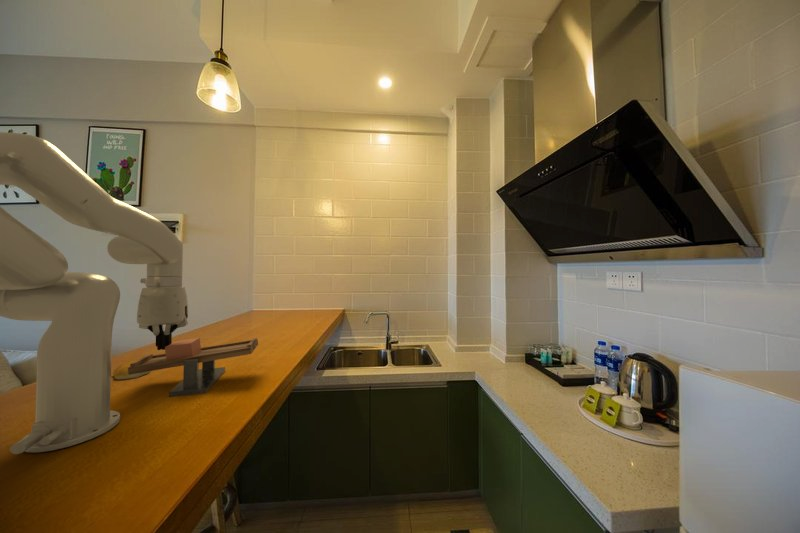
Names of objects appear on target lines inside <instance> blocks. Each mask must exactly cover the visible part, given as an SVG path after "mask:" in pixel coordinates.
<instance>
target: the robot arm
mask: <svg viewBox="0 0 800 533" xmlns="http://www.w3.org/2000/svg"><path fill="white" fill-rule="evenodd" d="M0 185H1V186H14V187H16V188H18V189H19V190H22V191H23V192H24V193H26V194H27V195H29V196H31V197H32V198H33V199H34V200H36V201H38V203H39V202H40V203H41V204H42V205H43V206H45V207H46V208H48V209H49V210H51V211H52V212H53V213H54V214H56V215H58V216H59V217H60V218H62V219H63V220H65V221H66V222H68V223H70V224H72V225H75V226H77V227H81V228H84V229H87V230H92V231H96V232H98V233H99V232H100V233H105V234H110V235H115V236H114V237H113V238H111V240H110V241H109V242H108V244H107V248H106V249H107V253H108V255H109V256H110V257H111V259H113V260H114V261H117V262H118V263H121V264H128V265H146V276H145V278H144V277H143V278H142V277H141V278H140V284H144V285H145V286H146V287H142V289H141V292H140V295H139V300H138V304H137V312H136V322H137V324H138V328H139V329H142V330H143V329H144V330H149V331H150V332H151V333H152V334H153V335H154V336H155V347H156V350H157V351H161V350H162V351H165V347H166V346H168V345H170V344H171V343H173V342H172V341H173V340H172V339H173V337H172V336H173V335H172V333H174V332H175V331H176V330H177V329H179V328H183V327H186V326H188V324H189V322H188V317H189V304H188V296H187V291H186V288H185V286H183V261H184V260H183V259H184V257H183V255H184V252H183V250H184V245H183V242H182V241H181V240H180V239H179V238H178V237H177V236H176V234H175V233H174V232H173V231H172V230H171V229H170V228H169V227H168V226H167V225H166V224H165V223H163V221H161V220H159V219H158V218H156V217H154V216H153V215H151V214H148V213H147V212H144V211H143V210H140V209H138V208H137V207H134V206H132V205H130V204H129V203H126V202H123V201H121V200H119V199H116V198H115V197H113V196H111V195H110V193H108V192H107V191H106V189H104V188H102V187H101V186H100V185H99V184H98V183H97V182H96V181H94V180H93V179H92V178H91V177H90V176H89V174H87V173H86V171H83V169H82V168H81V167H79V166H78V165H77V164H76V163H75V162H73V160H71V159H70V158H69V156H67V155H66V154H65V153H64V152H63V151H61V150H60V149H59V148H58V147H57V146H56V145H54V143H53V144H52V142H50V141H48V140H46V139H44V138H41V137H38V136H35V135H32V134H26V133H19V132H18V133H17V132H4V131H0ZM68 270H69V263H68V260H67V258H66V257H65V255H64V254H63V253H62V251H60V250H59V249H58V248H56V247H55V246H54V245H53V244H51V243H50V242H49V241H47V240H46V239H44V238H43V237H41V236H40V235H39V234H37V233H36V232H34V231H33V230H32V229H31V228H29V227H28V226H26V225H25V224H24V223H23V222H21V221H19V220H18V219H16V218H15V217H13V216H12V215H11V214H10V213H9V212H8V211H7V210H5V209H4V208H3V207H2V206H1V205H0V317H2V318H5V319H10V320H13V321H14V320H16V321H26V322H27V321H28V322H29V321H30V322H35V321H36V322H39V321H40V322H43V321H44V322H48V321H49V322H50V325H49V326H48V328H46V330H45V332H44V333H43V335H42V336H41V338H40V339H39V343H38V344H37V349H36V350H37V351H36V379H35V380H36V384H35V385H36V387H35V416H34V418H35V420H34V422H35V423H33V424H31V431H30V432H29V433H28V434H26V435H24V437H23V438H22V439H20V440H19V441H17V442H15V443H14V444H12V445H11V446H10V448H9V452H10V453H11V454H13V455H20V454H22V453H24V452H25V453H36V454H37V453H45V452H50V451H51V452H53V451H55V450H62V449H64V448H69V447H73V446H75V445H78V444H81V443H83V442H87V441H90V440H92V439H94V438H96V437H99V436H101V435H103V434H105V433H107V432H108V431H111V430H112V429H113V428H114V427H115V426H117V425H118V424H119V423H120V421H121V414H120V412H119V411H117V410H111V390H112V388H111V386H112V385H111V384H112V379H111V378H112V354H113V353H112V350H113V349H112V348H113V345H112V344H113V341H112V340H113V328H114V323H115V317H116V313H117V311H118V307H119V303H120V300H121V299H120V298H121V291H120V287H119V285H118V284H117V283H116V282H115V281H114V280H113V279H112V278H110V277H108V276H105V275H102V274H99V273H93V272H80V271H79V272H77V271H76V272H71V271H68ZM164 326H165V327H164Z"/></svg>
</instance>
